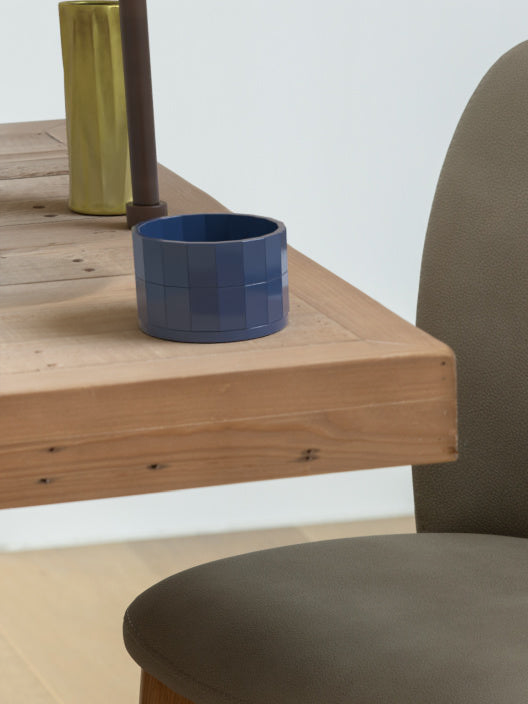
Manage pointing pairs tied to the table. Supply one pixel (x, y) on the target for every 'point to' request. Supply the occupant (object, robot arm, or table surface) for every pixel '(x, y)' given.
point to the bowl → (211, 276)
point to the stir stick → (139, 114)
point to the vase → (95, 107)
